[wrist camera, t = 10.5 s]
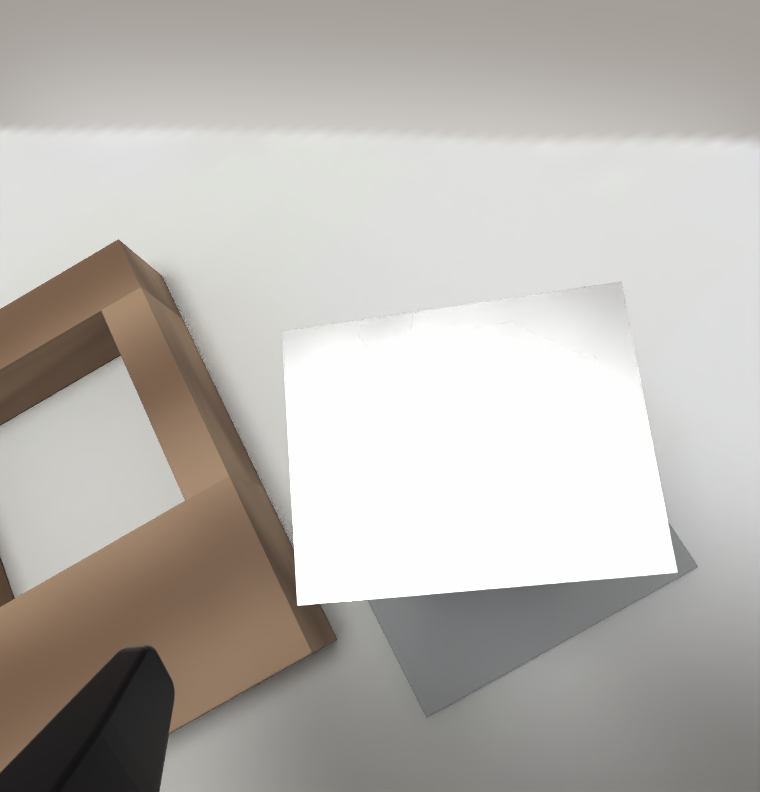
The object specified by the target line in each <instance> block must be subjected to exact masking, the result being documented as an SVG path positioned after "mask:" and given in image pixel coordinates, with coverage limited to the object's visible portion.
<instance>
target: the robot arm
mask: <svg viewBox="0 0 760 792" xmlns="http://www.w3.org/2000/svg"><path fill="white" fill-rule="evenodd" d="M174 699H175V689H174V684H173V681H172V679H171V677H170V675H169V673H168V671H167V669H166V667H165V665H164V664H163V662H162V660H161V658H160V656H159V654H158V652H157V651H156V649H155V648H154V647H152V646H150V645H142V646H130V647H125V648H123V649H121V650H120V651H118V652H117V653H116V654H115V655H114V656H113V657H112V658H111V659H110V660H109V661H108V662H107V663H106V664H105V665H104V666H103V667H102V668H101V669H100V670H99V671H98V672H97V673H96V674H95V675H94V677H93V678H92V679H91V680H90V681H89V682H88V683H87V684H86V685H85V686H84V687H83V688H82V689H81V690H80V691H79V692H78V693H77V694H76V695H75V696H74V697H73V698H72V699H71V700H70V701H69V702H68V703H67V704H66V705H65V706H64V707H63V708H62V709H61V710H60V711H59V712H58V713H57V714H56V715H55V716H54V717H53V718H52V719H51V721H50V722H49V723H48V724H47V725H46V726H45V727H44V728H43V729H42V730H41V731H40V732H39V733H38V734H37V735H36V736H35V737H34V738H33V739H32V740H31V741H30V742H29V743H28V744H27V745H26V746H25V747H24V748H23V749H22V750H21V751H20V752H19V753H18V754H17V755H16V756H15V757H14V758H13V759H12V760H11V761H10V762H9V763H8V765H7V766H6V767H5V768H4V769H3V770H2V771H1V772H0V792H159V791H160V785H161V779H162V772H163V766H164V760H165V754H166V748H167V742H168V736H169V730H170V724H171V718H172V712H173V706H174Z"/></svg>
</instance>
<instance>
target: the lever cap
mask: <svg viewBox="0 0 760 792" xmlns="http://www.w3.org/2000/svg"><path fill="white" fill-rule="evenodd" d="M282 343H283V361H284V378H285V396H286V413H287V431H288V449H289V466H290V484H291V501H292V519H293V536H294V554H295V572H296V589H297V605H309V604H321V603H332V602H344V601H355V600H367V599H378V598H390V597H401V596H413V595H425V594H436V593H448V592H459V591H471V590H482V589H494V588H505V587H517V586H529V585H540V584H552V583H563V582H575V581H586V580H598V579H609V578H621V577H633V576H644V575H656V574H667V573H677V567H676V562H675V557H674V552H673V547H672V541H671V536H670V531H669V526H668V520H667V515H666V510H665V505H664V500H663V494H662V489H661V484H660V479H659V474H658V468H657V463H656V458H655V453H654V448H653V442H652V437H651V432H650V427H649V422H648V416H647V411H646V406H645V401H644V396H643V390H642V385H641V380H640V375H639V370H638V364H637V359H636V354H635V349H634V343H633V338H632V333H631V328H630V323H629V317H628V312H627V307H626V302H625V297H624V291H623V286H622V282H616V283H609V284H602V285H595V286H589V287H582V288H575V289H568V290H561V291H554V292H547V293H541V294H534V295H527V296H520V297H513V298H506V299H499V300H493V301H486V302H479V303H472V304H465V305H458V306H451V307H444V308H438V309H431V310H424V311H417V312H410V313H403V314H396V315H390V316H383V317H376V318H369V319H362V320H355V321H348V322H342V323H335V324H328V325H321V326H314V327H307V328H300V329H294V330H287V331H282Z"/></svg>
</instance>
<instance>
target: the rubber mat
mask: <svg viewBox="0 0 760 792" xmlns="http://www.w3.org/2000/svg"><path fill="white" fill-rule="evenodd" d="M668 526H669V531H670V536H671V541H672V547H673V552H674V557H675V562H676V567H677V573H667V574H656V575H644V576H633V577H621V578H609V579H598V580H586V581H575V582H563V583H552V584H540V585H529V586H517V587H505V588H494V589H482V590H471V591H459V592H448V593H436V594H425V595H413V596H401V597H390V598H378V599H367V600H368V602H369V604H370V606H371V608H372V610H373V612H374V614H375V616H376V618H377V620H378V622H379V624H380V626H381V628H382V630H383V632H384V634H385V636H386V638H387V640H388V642H389V644H390V646H391V648H392V650H393V652H394V654H395V656H396V658H397V660H398V662H399V664H400V666H401V668H402V670H403V672H404V674H405V676H406V678H407V680H408V682H409V683H410V685H411V687H412V689H413V691H414V693H415V695H416V697H417V699H418V701H419V703H420V705H421V707H422V709H423V711H424V713H425V715H426V717H429V716H430V715H432V714H434V713H436V712H438V711H439V710H441V709H443V708H445V707H447V706H448V705H450V704H452V703H454V702H456V701H457V700H459V699H461V698H463V697H465V696H466V695H468V694H470V693H472V692H474V691H475V690H477V689H479V688H481V687H483V686H484V685H486V684H488V683H490V682H492V681H493V680H495V679H497V678H499V677H501V676H502V675H504V674H506V673H508V672H510V671H511V670H513V669H515V668H517V667H519V666H520V665H522V664H524V663H526V662H528V661H529V660H531V659H533V658H535V657H537V656H538V655H540V654H542V653H544V652H546V651H547V650H549V649H551V648H553V647H555V646H556V645H558V644H560V643H562V642H564V641H565V640H567V639H569V638H571V637H573V636H574V635H576V634H578V633H580V632H582V631H583V630H585V629H587V628H589V627H591V626H592V625H594V624H596V623H598V622H600V621H601V620H603V619H605V618H607V617H609V616H610V615H612V614H614V613H616V612H618V611H619V610H621V609H623V608H625V607H627V606H628V605H630V604H632V603H634V602H636V601H637V600H639V599H641V598H643V597H645V596H646V595H648V594H650V593H652V592H654V591H655V590H657V589H659V588H661V587H663V586H664V585H666V584H668V583H670V582H672V581H673V580H675V579H677V578H679V577H681V576H683V575H684V574H686V573H688V572H690V571H692V570H693V569H695V568H697V567H698V566H697V564H696V563H695V561H694V560H693V558H692V557H691V555H690V554H689V552H688V551H687V549H686V548H685V546H684V545H683V543H682V542H681V540H680V539H679V537H678V536H677V534H676V533H675V531H674V530H673V528H672V527H671V525H670V524H669V522H668Z"/></svg>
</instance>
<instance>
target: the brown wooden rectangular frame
mask: <svg viewBox="0 0 760 792" xmlns="http://www.w3.org/2000/svg"><path fill="white" fill-rule="evenodd" d="M119 355H121V356H122V359H123V361H124V363H125V366H126V368H127V370H128V372H129V375H130V377H131V379H132V381H133V384H134V386H135V388H136V390H137V393H138V395H139V397H140V400H141V402H142V404H143V406H144V409H145V411H146V413H147V415H148V418H149V420H150V422H151V424H152V427H153V429H154V431H155V433H156V436H157V438H158V440H159V443H160V445H161V447H162V449H163V452H164V454H165V456H166V458H167V461H168V463H169V465H170V467H171V470H172V472H173V474H174V477H175V479H176V481H177V483H178V486H179V488H180V490H181V492H182V495H183V497H184V499H185V501H184V502H182V503H181V504H179V505H177V506H175V507H174V508H172V509H170V510H168V511H167V512H165V513H163V514H161V515H160V516H158V517H156V518H155V519H153V520H151V521H149V522H148V523H146V524H144V525H142V526H141V527H139V528H137V529H135V530H134V531H132V532H130V533H128V534H127V535H125V536H123V537H121V538H120V539H118V540H116V541H114V542H113V543H111V544H109V545H107V546H106V547H104V548H102V549H101V550H99V551H97V552H95V553H94V554H92V555H90V556H88V557H87V558H85V559H83V560H81V561H80V562H78V563H76V564H74V565H73V566H71V567H69V568H67V569H66V570H64V571H62V572H60V573H59V574H57V575H55V576H53V577H52V578H50V579H48V580H46V581H45V582H43V583H41V584H40V585H38V586H36V587H34V588H33V589H31V590H29V591H27V592H26V593H24V594H22V595H20V596H19V597H17V598H15V599H14V597H13V595H12V592H11V589H10V586H9V583H8V580H7V577H6V574H5V571H4V568H3V566H2V563H1V560H0V772H1V771H2V770H3V769H4V768H5V767H6V766H7V765H8V763H9V762H10V761H11V760H12V759H13V758H14V757H15V756H16V755H17V754H18V753H19V752H20V751H21V750H22V749H23V748H24V747H25V746H26V745H27V744H28V743H29V742H30V741H31V740H32V739H33V738H34V737H35V736H36V735H37V734H38V733H39V732H40V731H41V730H42V729H43V728H44V727H45V726H46V725H47V724H48V723H49V722H50V721H51V719H52V718H53V717H54V716H55V715H56V714H57V713H58V712H59V711H60V710H61V709H62V708H63V707H64V706H65V705H66V704H67V703H68V702H69V701H70V700H71V699H72V698H73V697H74V696H75V695H76V694H77V693H78V692H79V691H80V690H81V689H82V688H83V687H84V686H85V685H86V684H87V683H88V682H89V681H90V680H91V679H92V678H93V677H94V675H95V674H96V673H97V672H98V671H99V670H100V669H101V668H102V667H103V666H104V665H105V664H106V663H107V662H108V661H109V660H110V659H111V658H112V657H113V656H114V655H115V654H116V653H117V652H118V651H120V650H121V649H123V648H125V647H130V646H142V645H150V646H152V647H154V648H155V649H156V651H157V652H158V654H159V656H160V658H161V660H162V662H163V664H164V665H165V667H166V669H167V671H168V673H169V675H170V677H171V679H172V681H173V684H174V689H175V699H174V706H173V712H172V718H171V724H170V730H169V734H170V733H172V732H173V731H175V730H177V729H179V728H181V727H182V726H184V725H186V724H188V723H189V722H191V721H193V720H195V719H197V718H198V717H200V716H202V715H204V714H205V713H207V712H209V711H211V710H213V709H214V708H216V707H218V706H220V705H222V704H223V703H225V702H227V701H229V700H230V699H232V698H234V697H236V696H238V695H239V694H241V693H243V692H245V691H246V690H248V689H250V688H252V687H254V686H255V685H257V684H259V683H261V682H262V681H264V680H266V679H268V678H270V677H271V676H273V675H275V674H277V673H278V672H280V671H282V670H284V669H286V668H287V667H289V666H291V665H293V664H294V663H296V662H298V661H300V660H302V659H303V658H305V657H307V656H309V655H310V654H312V653H314V652H316V651H318V650H319V649H321V648H323V647H325V646H327V645H328V644H330V643H332V642H334V641H335V640H337V639H336V637H335V635H334V633H333V631H332V628H331V626H330V624H329V622H328V620H327V618H326V616H325V614H324V612H323V610H322V608H321V606H320V604H309V605H297V589H296V572H295V554H294V550H293V547H292V545H291V543H290V541H289V539H288V537H287V535H286V533H285V531H284V529H283V527H282V525H281V523H280V521H279V518H278V516H277V514H276V512H275V510H274V508H273V506H272V504H271V502H270V500H269V498H268V496H267V494H266V491H265V489H264V487H263V485H262V483H261V481H260V479H259V477H258V475H257V473H256V471H255V469H254V467H253V464H252V462H251V460H250V458H249V456H248V454H247V452H246V450H245V448H244V446H243V444H242V442H241V440H240V437H239V435H238V433H237V431H236V429H235V427H234V425H233V423H232V421H231V419H230V417H229V415H228V413H227V410H226V408H225V406H224V404H223V402H222V400H221V398H220V396H219V394H218V392H217V390H216V388H215V386H214V383H213V381H212V379H211V377H210V375H209V373H208V371H207V369H206V367H205V365H204V363H203V361H202V359H201V356H200V354H199V352H198V350H197V348H196V346H195V344H194V342H193V340H192V338H191V336H190V334H189V332H188V329H187V327H186V325H185V323H184V321H183V319H182V317H181V315H180V313H179V311H178V309H177V307H176V305H175V302H174V300H173V298H172V296H171V294H170V292H169V290H168V288H167V286H166V284H165V282H164V280H163V278H162V276H161V275H160V274H159V273H158V272H157V271H155V270H154V269H153V268H152V267H151V266H150V265H148V264H147V263H146V262H145V261H144V260H142V259H141V258H140V257H139V256H138V255H136V254H135V253H134V252H133V251H132V250H131V249H129V248H128V247H127V246H126V245H125V244H123V243H122V242H121V241H120V240H119V239H118V240H117V241H115V242H113V243H111V244H110V245H108V246H106V247H105V248H103V249H101V250H100V251H98V252H96V253H95V254H93V255H91V256H89V257H88V258H86V259H84V260H83V261H81V262H79V263H78V264H76V265H74V266H73V267H71V268H69V269H67V270H66V271H64V272H62V273H61V274H59V275H57V276H56V277H54V278H52V279H50V280H49V281H47V282H45V283H44V284H42V285H40V286H39V287H37V288H35V289H34V290H32V291H30V292H28V293H27V294H25V295H23V296H22V297H20V298H18V299H17V300H15V301H13V302H12V303H10V304H8V305H6V306H5V307H3V308H1V309H0V425H1V424H3V423H4V422H6V421H8V420H10V419H11V418H13V417H15V416H16V415H18V414H20V413H22V412H23V411H25V410H27V409H28V408H30V407H32V406H34V405H35V404H37V403H39V402H40V401H42V400H44V399H46V398H47V397H49V396H51V395H52V394H54V393H56V392H58V391H59V390H61V389H63V388H64V387H66V386H68V385H70V384H71V383H73V382H75V381H76V380H78V379H80V378H82V377H83V376H85V375H87V374H88V373H90V372H92V371H94V370H95V369H97V368H99V367H100V366H102V365H104V364H106V363H107V362H109V361H111V360H112V359H114V358H116V357H118V356H119Z"/></svg>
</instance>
